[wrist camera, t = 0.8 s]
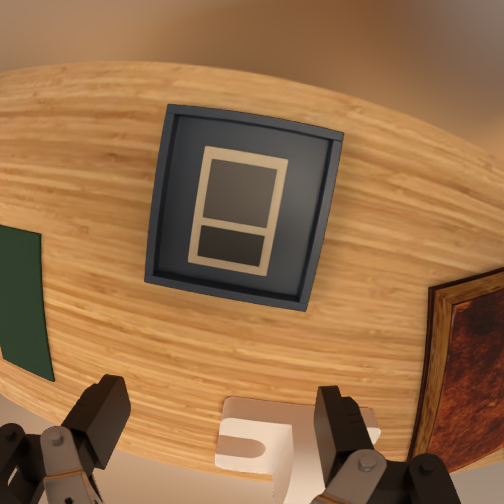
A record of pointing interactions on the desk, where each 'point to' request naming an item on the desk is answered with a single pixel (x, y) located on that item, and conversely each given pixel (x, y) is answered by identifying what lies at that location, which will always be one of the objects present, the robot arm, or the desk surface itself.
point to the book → (462, 372)
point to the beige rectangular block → (236, 210)
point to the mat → (23, 303)
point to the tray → (290, 213)
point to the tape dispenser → (276, 445)
